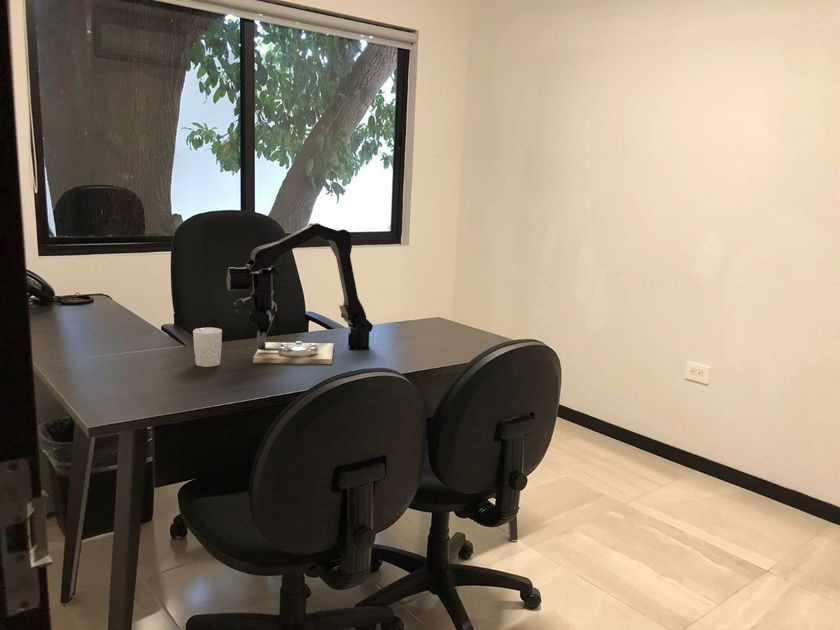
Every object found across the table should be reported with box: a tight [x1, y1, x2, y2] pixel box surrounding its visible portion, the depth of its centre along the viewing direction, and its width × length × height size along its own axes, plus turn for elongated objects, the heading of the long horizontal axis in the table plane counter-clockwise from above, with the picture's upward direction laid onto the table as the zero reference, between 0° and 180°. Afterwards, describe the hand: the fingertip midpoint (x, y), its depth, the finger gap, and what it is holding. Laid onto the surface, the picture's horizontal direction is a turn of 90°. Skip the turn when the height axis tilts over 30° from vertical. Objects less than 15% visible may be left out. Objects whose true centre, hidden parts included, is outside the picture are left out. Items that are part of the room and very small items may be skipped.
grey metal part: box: [256, 330, 318, 357], centre depth 197 cm, size 18×12×6 cm, turn 97°
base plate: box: [252, 341, 334, 365], centre depth 201 cm, size 23×20×2 cm
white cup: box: [192, 327, 223, 368], centre depth 186 cm, size 8×8×10 cm
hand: (263, 338), depth 199 cm, fingers closed
